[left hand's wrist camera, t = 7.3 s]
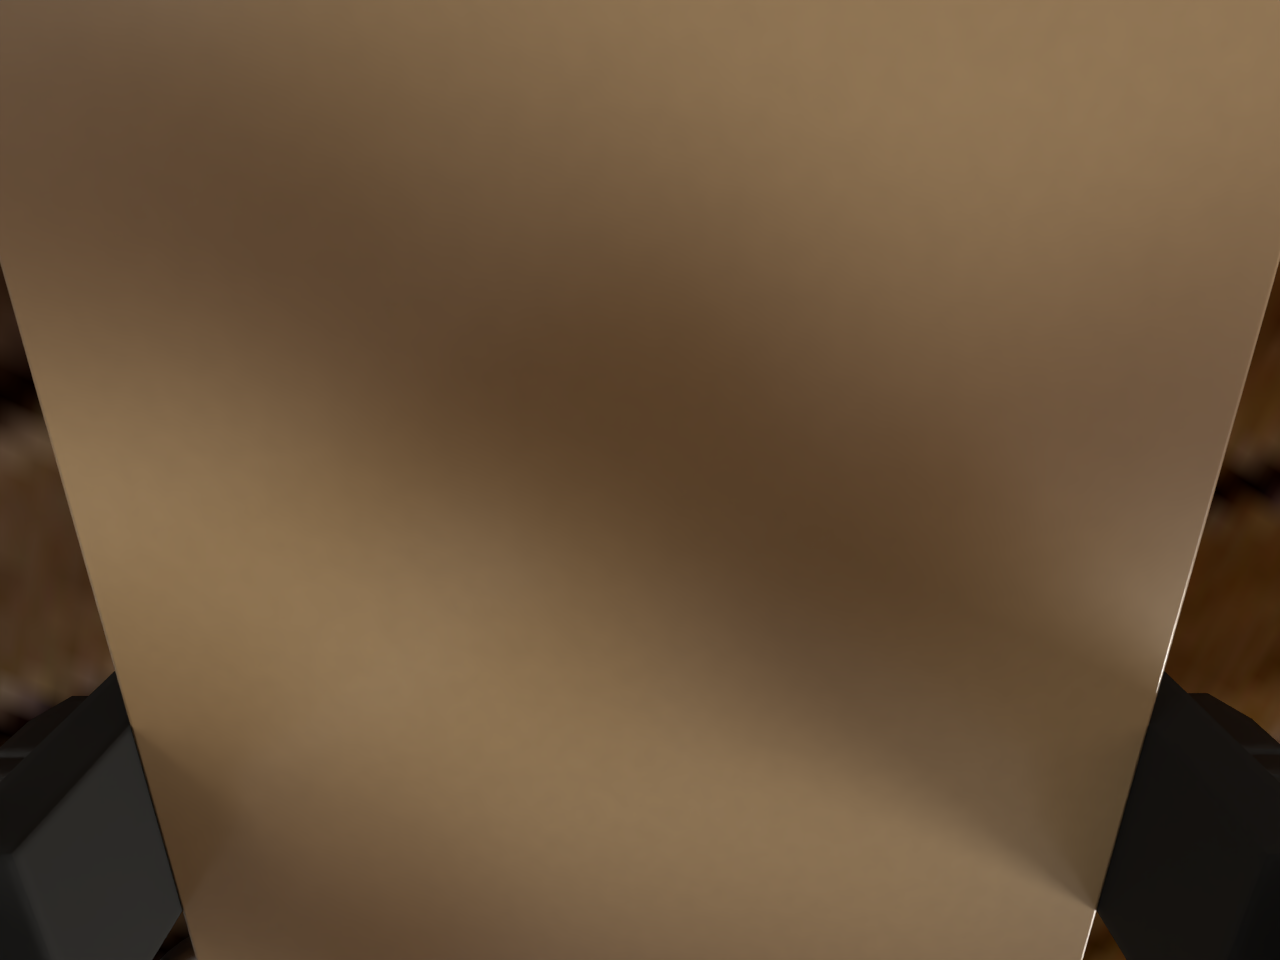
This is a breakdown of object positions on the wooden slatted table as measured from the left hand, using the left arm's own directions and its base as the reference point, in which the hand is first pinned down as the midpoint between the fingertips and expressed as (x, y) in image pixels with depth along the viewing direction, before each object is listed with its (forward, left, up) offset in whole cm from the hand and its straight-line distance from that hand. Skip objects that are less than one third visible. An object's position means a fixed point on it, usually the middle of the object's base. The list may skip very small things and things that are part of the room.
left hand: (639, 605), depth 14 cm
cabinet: (+2, +5, -6) cm, 8 cm away
